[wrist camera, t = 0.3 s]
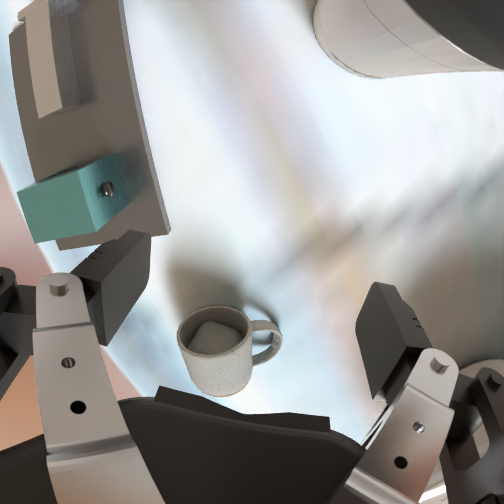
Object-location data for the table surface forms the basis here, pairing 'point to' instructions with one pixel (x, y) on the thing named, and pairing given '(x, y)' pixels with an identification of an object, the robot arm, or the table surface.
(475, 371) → the chamber pot
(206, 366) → the ceramic mug
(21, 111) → the base
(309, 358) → the table surface
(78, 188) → the block
